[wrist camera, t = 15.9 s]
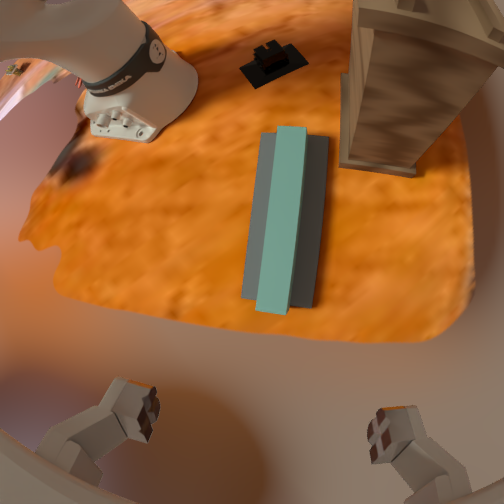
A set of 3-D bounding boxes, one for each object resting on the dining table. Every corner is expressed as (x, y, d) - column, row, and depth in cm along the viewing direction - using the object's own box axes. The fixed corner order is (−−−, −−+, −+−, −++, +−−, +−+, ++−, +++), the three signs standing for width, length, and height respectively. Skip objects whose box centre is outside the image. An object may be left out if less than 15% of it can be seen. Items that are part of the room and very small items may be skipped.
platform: (18, 89, 57) (5, 83, 50) (5, 88, 61) (-6, 82, 54) (36, 59, 56) (23, 52, 49) (21, 60, 60) (10, 55, 53)
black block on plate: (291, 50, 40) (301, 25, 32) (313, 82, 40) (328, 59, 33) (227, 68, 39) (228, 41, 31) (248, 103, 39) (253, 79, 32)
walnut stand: (338, 167, 34) (359, -7, 8) (340, 80, 34) (337, -85, 8) (411, 178, 32) (533, 53, 5) (406, 90, 32) (457, -57, 5)
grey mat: (242, 297, 37) (241, 297, 36) (262, 134, 37) (261, 132, 36) (311, 307, 35) (311, 308, 34) (328, 138, 35) (328, 136, 34)
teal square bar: (261, 305, 36) (255, 310, 32) (281, 136, 36) (277, 125, 32) (288, 309, 35) (285, 315, 32) (308, 138, 35) (306, 127, 31)
